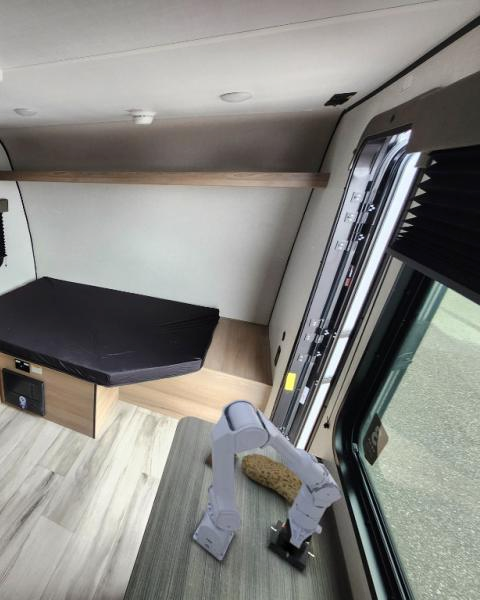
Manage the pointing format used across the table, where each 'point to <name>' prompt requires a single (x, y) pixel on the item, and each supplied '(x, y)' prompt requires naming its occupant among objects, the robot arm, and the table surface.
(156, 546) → the table surface
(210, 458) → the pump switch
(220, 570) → the table surface
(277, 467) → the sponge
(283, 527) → the tap handle
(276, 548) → the panel
